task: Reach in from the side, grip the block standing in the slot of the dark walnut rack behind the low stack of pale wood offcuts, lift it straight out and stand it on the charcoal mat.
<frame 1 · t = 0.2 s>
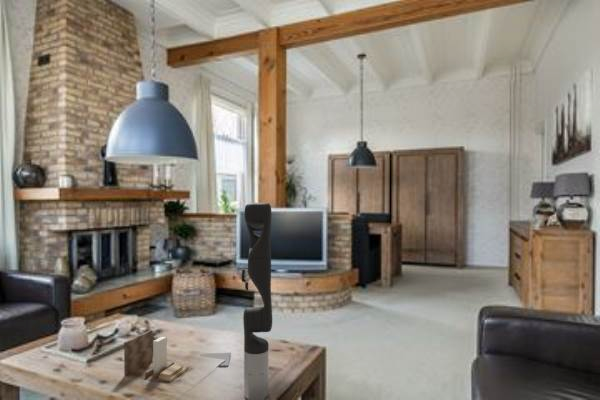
hand: (256, 290, 198), 29 cm above the table, tool pointing down, fingers open, 8 cm apart
mat: (214, 360, 185), on the table
lighter: (149, 354, 193), on the table
rack: (160, 374, 171), on the table
block: (160, 371, 171), point 1 cm above the table, touching rack
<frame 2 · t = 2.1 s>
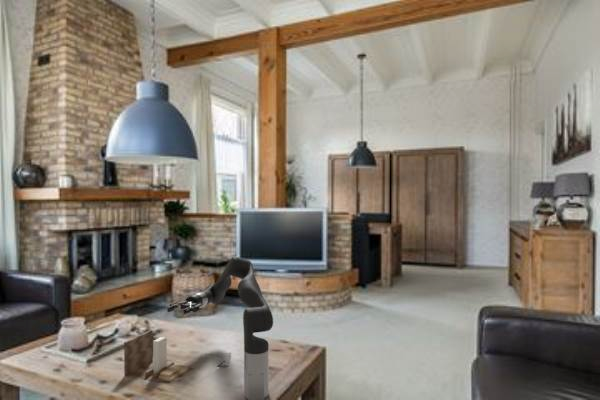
hand: (176, 310, 181), 24 cm above the table, tool horizontal, fingers open, 8 cm apart
nothing on the table moved.
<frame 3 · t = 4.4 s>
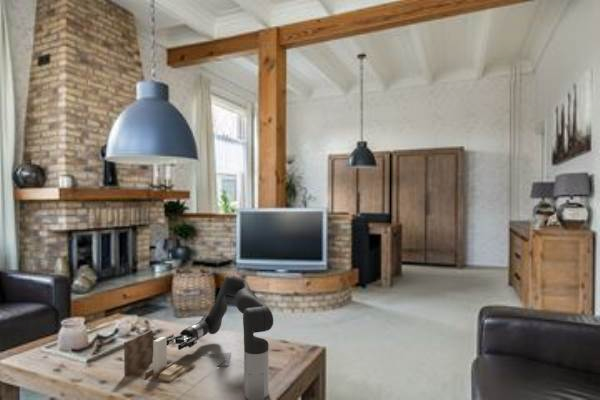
hand: (170, 346, 177), 9 cm above the table, tool horizontal, fingers open, 8 cm apart
nothing on the table moved.
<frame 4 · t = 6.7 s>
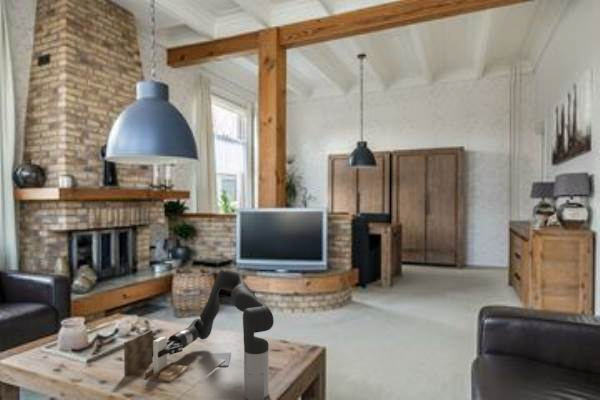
hand: (155, 354, 168), 9 cm above the table, tool horizontal, fingers closed on block, 2 cm apart
block: (160, 371, 171), point 1 cm above the table, touching gripper, rack
everything else where it was.
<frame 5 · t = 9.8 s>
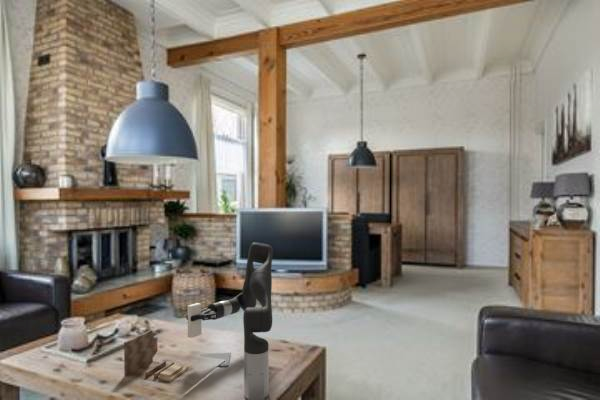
hand: (189, 318, 178), 21 cm above the table, tool horizontal, fingers closed on block, 2 cm apart
block: (194, 335, 181), point 13 cm above the table, touching gripper
everything else where it was.
when the fingers open (10 cm above the table, at t = 13.0 s): block drops 1 cm, resting on mat.
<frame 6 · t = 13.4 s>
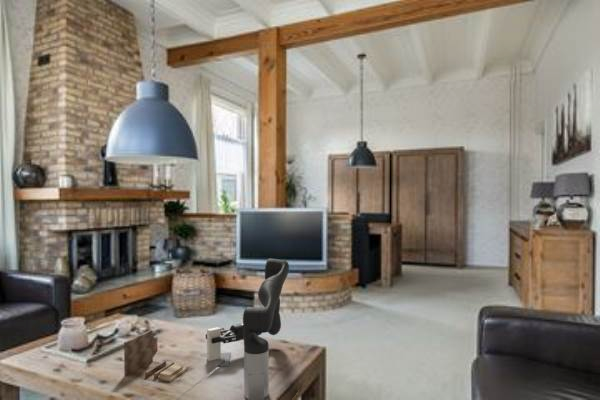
hand: (208, 339, 183), 10 cm above the table, tool horizontal, fingers open, 6 cm apart
block: (213, 359, 185), point 1 cm above the table, touching mat
everything else where it was.
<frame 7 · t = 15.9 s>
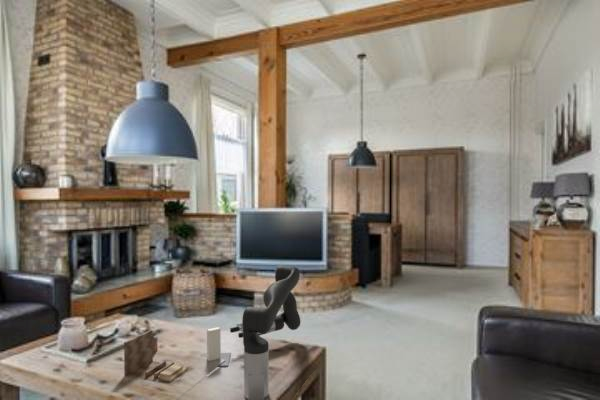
hand: (234, 332, 191), 11 cm above the table, tool horizontal, fingers open, 8 cm apart
nothing on the table moved.
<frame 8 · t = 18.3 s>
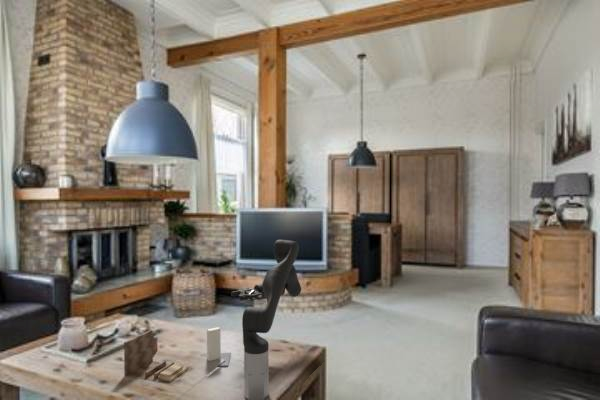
hand: (235, 296, 191), 28 cm above the table, tool horizontal, fingers open, 8 cm apart
nothing on the table moved.
at the end: block inside the target area (0.1 cm from its centre), point 0.6 cm above the table; block tilted 0°; the gripper is holding nothing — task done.
